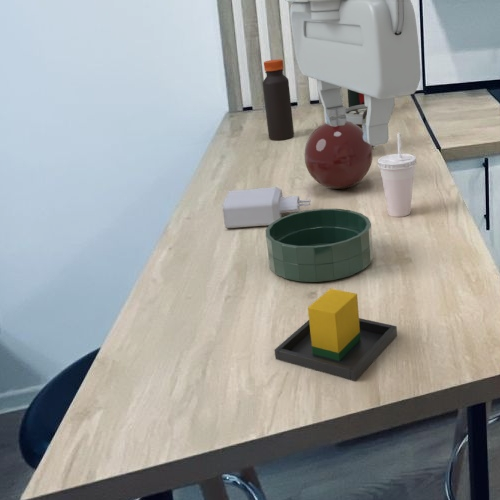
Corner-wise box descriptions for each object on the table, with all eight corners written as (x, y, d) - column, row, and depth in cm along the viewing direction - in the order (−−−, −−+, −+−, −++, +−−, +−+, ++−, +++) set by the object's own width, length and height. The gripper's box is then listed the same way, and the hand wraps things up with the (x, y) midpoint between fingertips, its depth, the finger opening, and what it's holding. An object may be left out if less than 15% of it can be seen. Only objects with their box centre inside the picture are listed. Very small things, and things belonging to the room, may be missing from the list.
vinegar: (269, 141, 173) (260, 64, 166) (268, 136, 179) (259, 61, 172) (295, 138, 173) (287, 60, 165) (292, 133, 179) (285, 57, 172)
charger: (310, 224, 114) (225, 230, 116) (312, 206, 122) (233, 212, 125) (307, 198, 112) (221, 205, 114) (310, 182, 120) (230, 188, 123)
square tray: (397, 338, 76) (396, 326, 75) (355, 385, 69) (354, 371, 68) (321, 321, 82) (320, 309, 81) (275, 362, 75) (274, 349, 74)
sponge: (360, 339, 76) (357, 293, 74) (339, 361, 72) (335, 313, 70) (334, 333, 78) (330, 288, 76) (312, 354, 74) (307, 307, 72)
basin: (390, 251, 99) (388, 214, 97) (340, 294, 88) (337, 253, 86) (304, 239, 108) (301, 204, 105) (250, 276, 97) (245, 239, 95)
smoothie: (411, 221, 109) (408, 138, 104) (374, 218, 112) (369, 138, 107) (423, 208, 114) (421, 128, 109) (388, 205, 117) (384, 128, 112)
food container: (350, 145, 159) (347, 104, 155) (375, 144, 157) (373, 102, 153) (337, 160, 149) (334, 116, 145) (364, 159, 146) (361, 114, 143)
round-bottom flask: (296, 187, 134) (286, 88, 127) (353, 173, 138) (346, 76, 130) (326, 203, 123) (317, 95, 115) (387, 187, 126) (382, 82, 119)
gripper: (440, -36, 48) (441, 150, 53) (336, -26, 66) (345, 111, 71) (359, -25, 46) (369, 164, 52) (276, -18, 65) (290, 121, 70)
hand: (354, 133), depth 62 cm, fingers open, 8 cm apart
